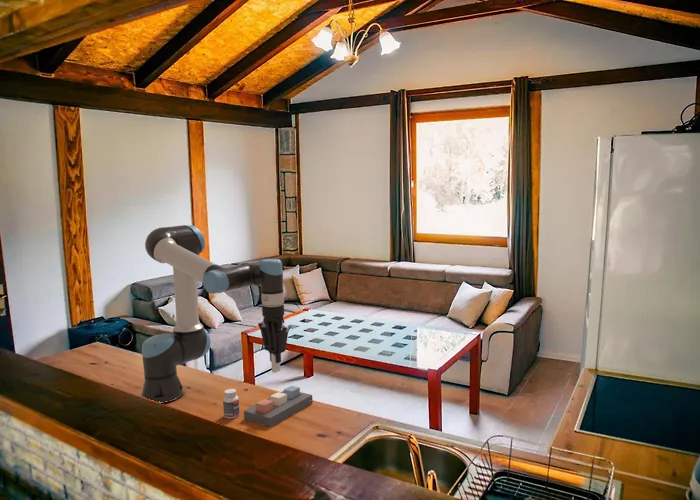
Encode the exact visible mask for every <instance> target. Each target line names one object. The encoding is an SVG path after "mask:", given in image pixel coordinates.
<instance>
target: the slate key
mask: <svg viewBox="0 0 700 500" xmlns="http://www.w3.org/2000/svg"><path fill="white" fill-rule="evenodd" d="M300 389H301V388H300V387H299V386H295V385H290V386H287V387H285V388H284V389H283V391H284V394H287V398H289V399H295V398H297V397H298V396H300V392H301V390H300Z"/></svg>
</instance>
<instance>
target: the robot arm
mask: <svg viewBox="0 0 700 500" xmlns="http://www.w3.org/2000/svg"><path fill="white" fill-rule="evenodd" d="M144 245H145V246H144V247H145V251H146V253H147V255H148V256H149V257H150V258H152V259H153V260H154V261H156V262H158V263H160V264H168V265H169V266H171V267H172V271H173V286H174V303H175V318H176V321H175V322H176V324H175V326H174V327H173V328H172V333H169V332H168V333H167V332H165V333H161V334H156V335H152V336H150V337H148V338H147V339H144V341H143V343H142V345H141V357H142V364H143V375H144V381H143V382H144V383H143V387H142V390H141V391H142V392H141V394H140V396H142V397H145V398H147V399H150V400H154V401H157V402H159V401H160V402H165V401H170V400H173V399H175V398H177V397H179V396H181V395H182V394H183V395H184V386H183V384H182V383H181V381H180V380H181V379H179V377H178V369H177V366H180V365H182V364H185V363H189V362H192V361H195V360H196V361H197V360H199V359H200V358H203V357H204V356H206V355H207V353H208V352H209V350H210V348H211V336H210V335H209V331H207V330H208V329H205V327H204V325H203V324H202V323H201V322H200V316H199V314H200V313H199V299H198V298H199V297H198V282H197V280H198V281H199V282H201V283H202V285H203V288H204V289H205V290H206V292H207V293H209V294H211V295H212V294H221V293H224V292H228V291H232V290H236V289H237V290H238V289H241V288H245V287H250V286H254V287H255V286H256V287H260V293H261V294H260V295H261V305H262V306H261V314H262V317H263V319H262V321H261V322H259V323H257V325H258V327H259V330H260V333H261V338H262V343H263V347H264V351H267V352H268V353H269V361H270V363H271V373H274V374H276V373H278V372H280V371H281V362H282V353H284V352H286V349H287V343H288V337H289V336H288V335H289V331H290V330H291V326H290V325H286V323H285V319H284V316H285V305H284V303H285V297H284V295H285V293H284V278H283V277H284V270H283V263H282V260H280V258H279V259H278V258H267V259H261V260H260V261H259V263H258V264H257V263H249V262H241V263H238V264H237V265H235V266H230V267H223V266H220V265H219V264H216V263H215V262H212V261H210V260H209V259H206V258H205V257H202V256H200V254H201V253H203V252H204V249H205V247H206V240H205V236H204V234H203V232H202V231H201V230H200V229H199V228H198V227H197V226H196V225H190V224H189V225H188V224H187V225H186V224H185V225H175V226H174V225H173V226H165V227H164V226H163V227H158V228H155V229H154V230H152V231H151V232H150V233H149V234H148V235H147V236H146V239H145V243H144Z"/></svg>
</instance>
